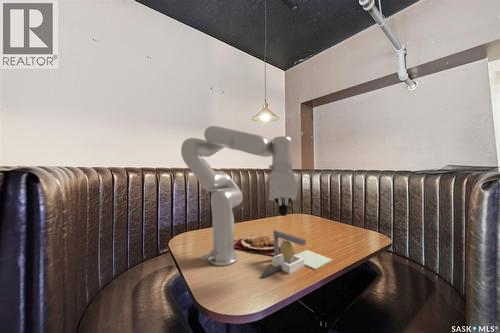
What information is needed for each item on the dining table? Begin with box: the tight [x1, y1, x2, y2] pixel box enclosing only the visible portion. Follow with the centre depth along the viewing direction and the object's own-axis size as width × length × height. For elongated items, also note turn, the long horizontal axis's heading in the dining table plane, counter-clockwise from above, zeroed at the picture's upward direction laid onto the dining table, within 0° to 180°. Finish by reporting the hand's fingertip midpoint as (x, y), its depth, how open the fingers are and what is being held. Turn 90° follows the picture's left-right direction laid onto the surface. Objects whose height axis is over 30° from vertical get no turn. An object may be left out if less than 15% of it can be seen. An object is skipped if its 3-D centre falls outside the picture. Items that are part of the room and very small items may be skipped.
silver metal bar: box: [272, 230, 307, 247], centre depth 81 cm, size 3×16×2 cm, turn 39°
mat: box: [295, 249, 333, 271], centre depth 86 cm, size 13×13×1 cm
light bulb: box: [280, 240, 297, 264], centre depth 81 cm, size 6×6×10 cm
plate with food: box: [234, 233, 288, 256], centre depth 105 cm, size 25×26×4 cm
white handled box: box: [261, 236, 305, 278], centre depth 79 cm, size 20×12×10 cm, turn 129°
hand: (282, 215), depth 76 cm, fingers closed
